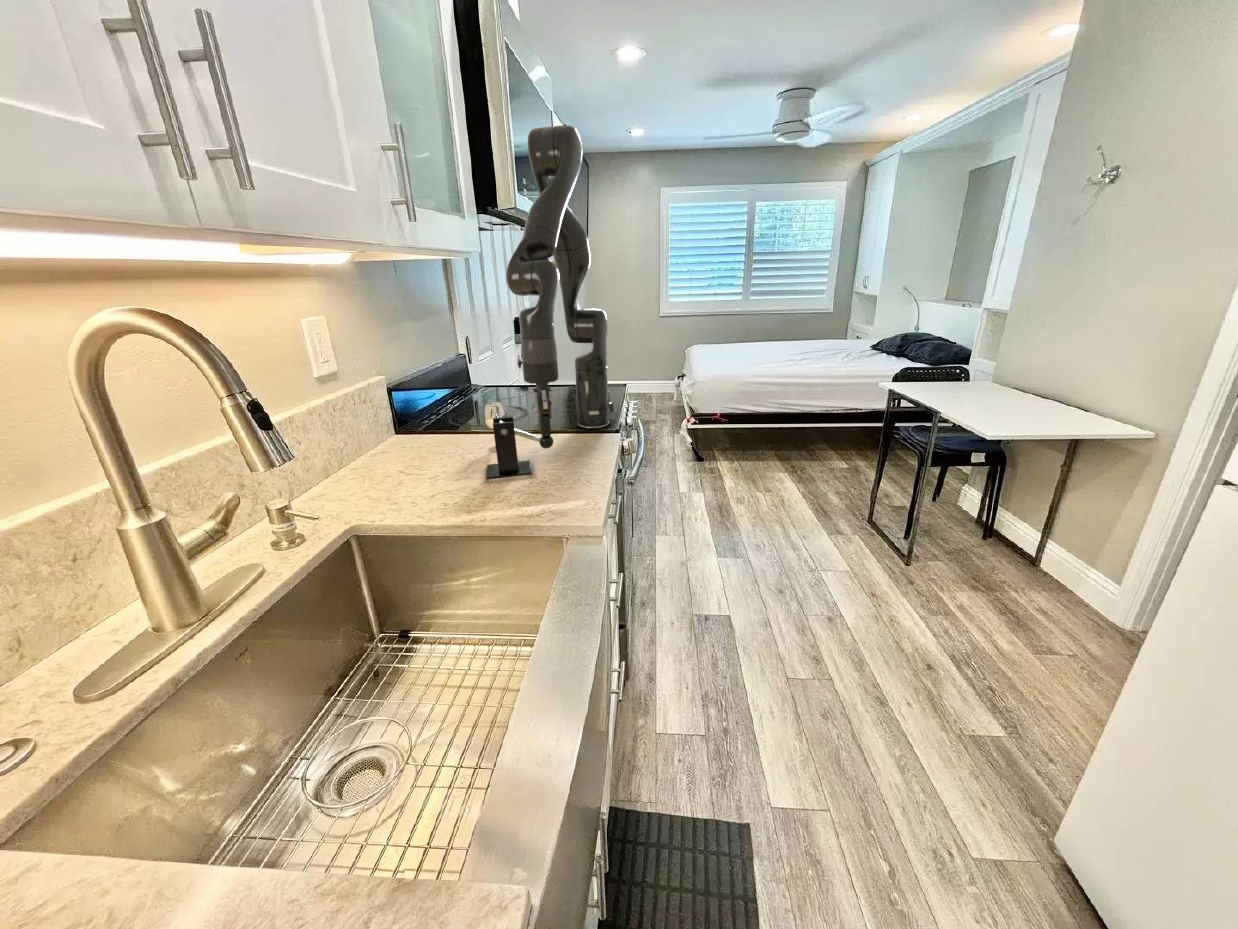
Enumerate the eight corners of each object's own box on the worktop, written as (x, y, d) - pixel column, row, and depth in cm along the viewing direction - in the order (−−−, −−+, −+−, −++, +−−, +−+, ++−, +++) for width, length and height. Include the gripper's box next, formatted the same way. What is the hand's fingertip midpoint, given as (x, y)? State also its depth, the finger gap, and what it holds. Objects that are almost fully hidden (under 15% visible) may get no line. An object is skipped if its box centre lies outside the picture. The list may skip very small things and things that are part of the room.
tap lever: (549, 447, 115) (554, 435, 114) (551, 452, 112) (556, 439, 111) (495, 430, 111) (500, 417, 110) (495, 434, 108) (500, 421, 107)
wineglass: (505, 453, 126) (500, 408, 121) (484, 452, 127) (478, 407, 123) (514, 445, 131) (509, 402, 127) (494, 444, 132) (488, 401, 128)
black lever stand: (530, 464, 118) (525, 413, 113) (532, 477, 111) (526, 423, 106) (487, 469, 116) (480, 417, 111) (486, 482, 109) (479, 427, 104)
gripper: (560, 362, 100) (566, 442, 107) (553, 353, 112) (559, 425, 119) (523, 365, 99) (531, 446, 105) (520, 355, 111) (527, 428, 117)
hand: (546, 435), depth 112 cm, fingers closed
